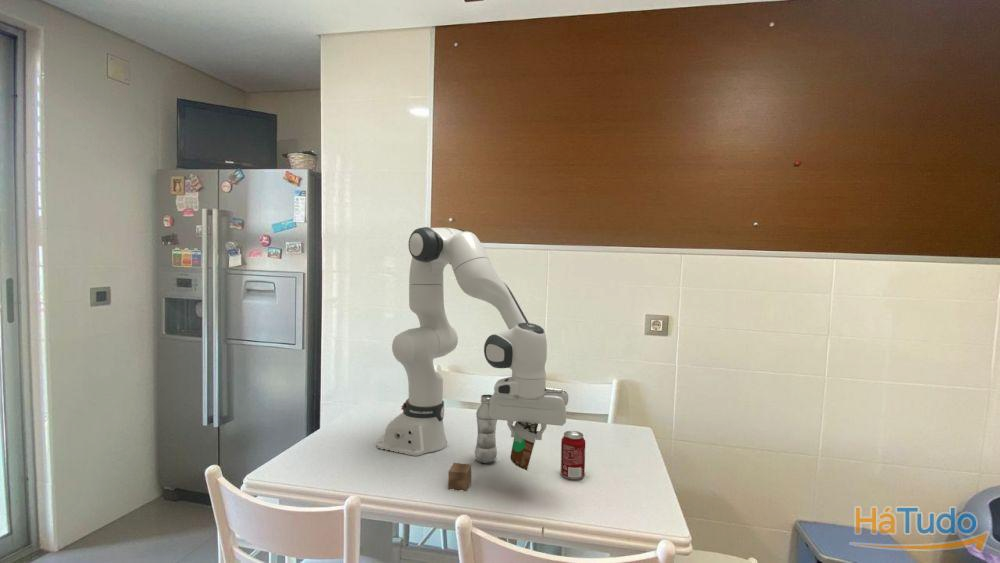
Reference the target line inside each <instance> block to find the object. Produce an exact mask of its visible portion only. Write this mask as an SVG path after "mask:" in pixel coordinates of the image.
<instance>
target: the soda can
mask: <svg viewBox="0 0 1000 563" xmlns="http://www.w3.org/2000/svg"><path fill="white" fill-rule="evenodd" d="M560 444H561V445H560V447H561V448H560V474H561V476H563V477H564V478H565V479H568V480H571V481H577V480H579V479H582V478H584V477H585V473H586V472H585V467H586V440H585V438H584V434H583V433H582V432H581V431H577V430H567V431H565V432H563V436H562V438H561V443H560Z"/></svg>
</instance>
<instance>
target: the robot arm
mask: <svg viewBox="0 0 1000 563" xmlns="http://www.w3.org/2000/svg"><path fill="white" fill-rule="evenodd" d="M408 251H409V253H410V255H411V262H410V267H409V275H408V276H409V277H408V279H409V280H408V291H409V292H408V306H409V309H410V310H411V312H412V313H414V314H416V317H417V318H418V321H419V327H415V328H414V327H413V328H409V329H406V330H405V331H402V332H400V333H398V334H397V335H395V336H394V338H393V339H392V340H393V341H392V344H391V351H392V355H393V356H394V358H395V360H397V362H399V363H400V364H401V365H402V367H403V368H404V370H405V373H406V375H407V376H406V377H407V380H408V381H407V383H408V384H407V385H408V398H407V399H406V400H405V402H404V403H403V404H402V405H401V411H402V412H401V413H400V414H399V415H396V417H394V418H393V419H392V420H391V421H389V423H388V424H387V425H386V428H385V431H384V434H383V435H382V436H381V437H380V438H379V439H378V441H377V443H376V447H377V449H378V448H380V449H379V450H383V449H385V450H384V451H388V450H390V452H393V451H394V453H398V452H399V454H403V453H404V455H409V456H415V457H417V456H421V455H424V454H428V453H432V452H438V451H439V450H442V449H444V448H445V447H446V446H447V443H448V441H447V438H446V432H445V427H444V426H445V425H444V418H445V404H444V403H445V400H443V395H444V393H443V391H444V388H443V387H444V380H443V377H442V375H441V374H440V373H439V372H437V371H436V369H435V366H434V359H438V358H442V357H445V356H446V355H447V356H448V354H450V353H452V352H454V350H455V349H456V347H457V345H458V343H459V342H458V341H459V337H458V334H457V331H456V330H455V328H454V327H452V326H451V325H450V323H449V320H448V318H447V314H446V310H445V303H444V302H445V301H444V296H445V295H444V269H445V267H446V266H447V265H450V266H451V268H452V270H453V273H454V276H455V280H456V282H457V285H458V286H459V288H460V289H461V290H462V291H463V293H464V294H466V295H467V296H469V297H471V298H474V299H478V300H481V301H483V302H486V303H487V304H490V305H492V306H493V307H495V308H496V310H497V311H498V312H499V314H500V315H501V318H502V320H503V321H504V323H505V325H506V327H507V329H508V330H504V331H501V332H496V333H493V334H491V335H489V336H488V337H487V338H486V340H485V342H484V345H483V353H484V357H485V360H486V362H487V363H488V364H489V365H490V366H491V367H492V368H495V369H510V370H511V376H509V377H505V378H500V379H499V380H497V381H496V383H495V384H494V388H493V391H494V392H493V394H491V395H492V397H491V400H490V406H489V416H490V418H491V419H495V420H497V421H506V422H507V423H506V424H507V427H508V429H509V430H510V438H514V436H515V431H514V422H515V423H516V422H527V423H538V425H539V424H540V430H537V431H536V435H537V436H536V439H535V441H536V440H537V441H542V440H543V434H544V433H545V430H546V429H547V425H551V426H559V427H561V426H564V425H565V424H566V423H567V409H566V408H567V407H566V406H567V405H568V403H569V394H568V392H567V391H565V390H563V388H559V387H558V388H554V387H548V386H546V382H547V381H546V379H547V378H546V377H547V374H546V369H545V367H546V362H547V356H548V355H547V354H548V352H547V350H548V349H547V348H548V344H547V335H546V331H545V329H544V328H543V327H542V326H540V325H538V324H535V323H531V322H529V320H528V319H527V316H526V315H525V313H524V312H523V310H522V308H521V306H520V304H519V303H518V301H517V299H516V297H515V295H514V294H513V292H512V291H511V289H510V288H509V285H508V284H506V283H505V282H504V281H503V280H502V278H501V277H500V276H499V274H498V273H497V271H496V270H495V268H494V266H493V265H492V262H491V260H490V258H489V255H488V253H487V252H486V249H485V248H484V246H483V244H482V243H481V241H480V240H479V238H478V236H477V235H476V234H474V233H473V232H471V231H466V230H463V229H461V228H460V229H459V228H457V229H456V228H451V227H445V226H443V227H428V226H423V227H419V228H416V229H414V230H413V231H412V232H411V234H410V237H409V239H408Z"/></svg>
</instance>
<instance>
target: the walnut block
mask: <svg viewBox="0 0 1000 563" xmlns="http://www.w3.org/2000/svg"><path fill="white" fill-rule="evenodd" d="M447 480H448V482H447V483H448V485H447V486H448V488H447V489H448V490H450V489H454V490H453V491H459V490H463V491H462V492H467V491H468V490H467V489H469V488H470V485H471V482H472V464H469V463H458V462H453V464H452V465H451V466H450V469H449V470H448V479H447Z"/></svg>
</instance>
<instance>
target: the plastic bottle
mask: <svg viewBox="0 0 1000 563" xmlns="http://www.w3.org/2000/svg"><path fill="white" fill-rule="evenodd" d="M492 395H493V394H481V396H480V403H481V404H480V405H479V407H478V408H477V410H476V413H475V415H476V424H477V425H476V426H477V438H476V445H475V449H474V455H475V459H476V460H477V461H478V462H479V463H483V464H489V463H493V462H494V461H495V460H496V459H497V454H498V451H497V442H496V433H497V432H496V430H497V422H498V420H495V419H491V418H490V416H489V406H490V400H491V397H492Z"/></svg>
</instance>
